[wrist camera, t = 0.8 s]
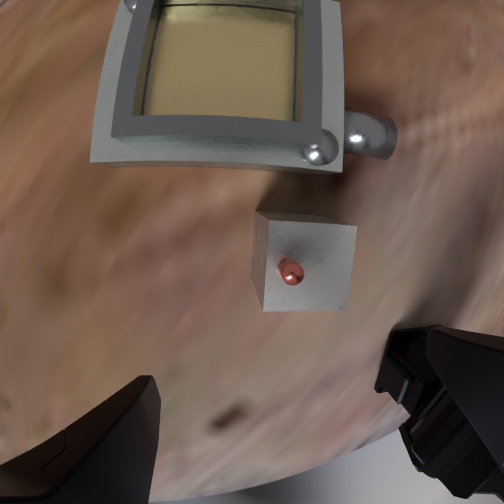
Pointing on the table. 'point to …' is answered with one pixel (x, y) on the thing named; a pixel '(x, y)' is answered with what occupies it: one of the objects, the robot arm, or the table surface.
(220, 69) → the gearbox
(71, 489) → the robot arm
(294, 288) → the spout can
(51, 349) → the table surface
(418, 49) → the table surface
